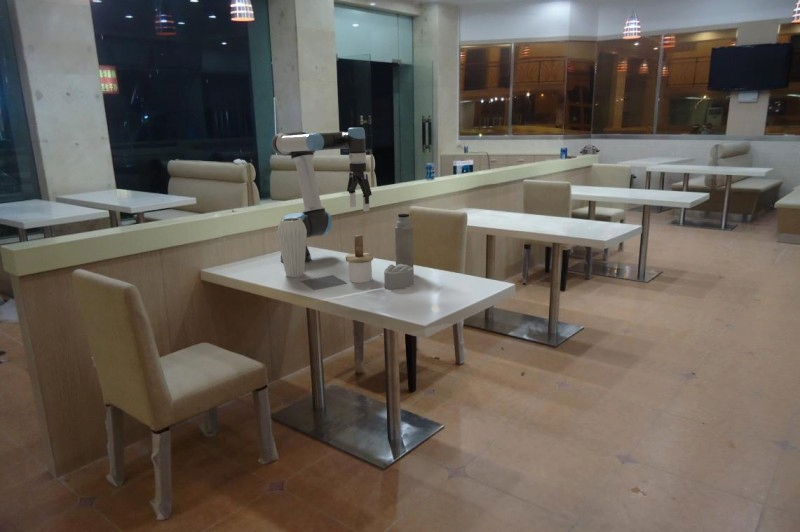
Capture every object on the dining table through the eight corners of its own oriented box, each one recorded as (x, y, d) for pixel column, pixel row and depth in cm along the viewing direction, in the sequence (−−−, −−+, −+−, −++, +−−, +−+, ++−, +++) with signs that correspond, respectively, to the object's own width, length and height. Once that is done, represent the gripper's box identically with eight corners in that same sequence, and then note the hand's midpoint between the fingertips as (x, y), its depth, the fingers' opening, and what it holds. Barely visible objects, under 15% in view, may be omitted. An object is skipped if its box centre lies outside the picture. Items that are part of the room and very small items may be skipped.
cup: (368, 285, 243) (368, 262, 240) (346, 284, 245) (345, 262, 242) (374, 278, 252) (373, 256, 250) (352, 277, 254) (351, 256, 252)
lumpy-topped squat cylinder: (416, 284, 243) (416, 264, 240) (397, 291, 233) (396, 271, 231) (398, 280, 249) (398, 261, 247) (378, 287, 240) (377, 267, 237)
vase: (312, 278, 255) (308, 220, 248) (282, 281, 251) (277, 223, 244) (307, 270, 267) (303, 216, 260) (278, 273, 263) (274, 218, 256)
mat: (299, 282, 249) (299, 281, 249) (333, 276, 257) (332, 275, 257) (313, 291, 236) (313, 289, 236) (348, 284, 244) (348, 283, 243)
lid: (341, 258, 248) (339, 235, 245) (365, 254, 254) (364, 231, 251) (353, 264, 238) (352, 240, 235) (378, 260, 244) (377, 236, 241)
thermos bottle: (400, 271, 262) (399, 212, 254) (416, 273, 258) (415, 213, 251) (393, 276, 255) (391, 215, 247) (409, 278, 251) (408, 216, 244)
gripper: (338, 161, 264) (340, 206, 270) (363, 164, 243) (364, 213, 249) (352, 160, 268) (354, 204, 273) (378, 163, 247) (379, 211, 252)
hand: (359, 209), depth 261 cm, fingers open, 13 cm apart
